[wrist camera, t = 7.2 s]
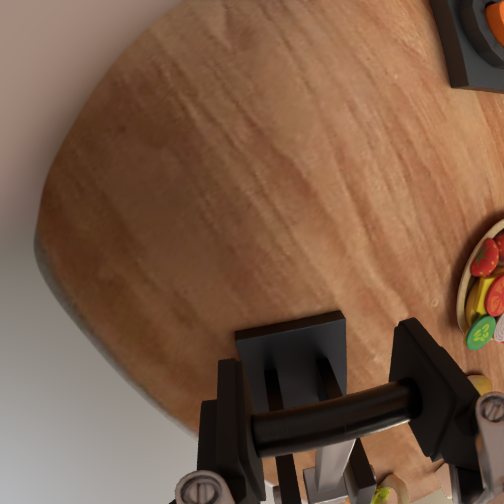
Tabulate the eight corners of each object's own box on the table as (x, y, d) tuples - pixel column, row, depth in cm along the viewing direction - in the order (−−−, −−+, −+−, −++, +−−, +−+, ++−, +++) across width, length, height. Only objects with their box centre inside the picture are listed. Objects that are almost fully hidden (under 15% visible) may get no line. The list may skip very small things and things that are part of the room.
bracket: (234, 331, 23) (239, 485, 11) (340, 310, 23) (414, 443, 11) (259, 423, 27) (272, 544, 15) (343, 406, 27) (383, 519, 15)
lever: (246, 393, 9) (255, 466, 7) (404, 356, 9) (433, 418, 7) (281, 482, 16) (287, 514, 14) (357, 465, 16) (365, 496, 14)
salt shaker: (447, 458, 34) (470, 500, 25) (461, 455, 35) (484, 495, 26) (432, 472, 36) (452, 514, 27) (446, 470, 36) (466, 509, 27)
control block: (419, -25, 14) (445, -43, 11) (486, -6, 14) (513, -16, 10) (451, 88, 18) (485, 84, 14) (512, 95, 18) (544, 95, 14)
